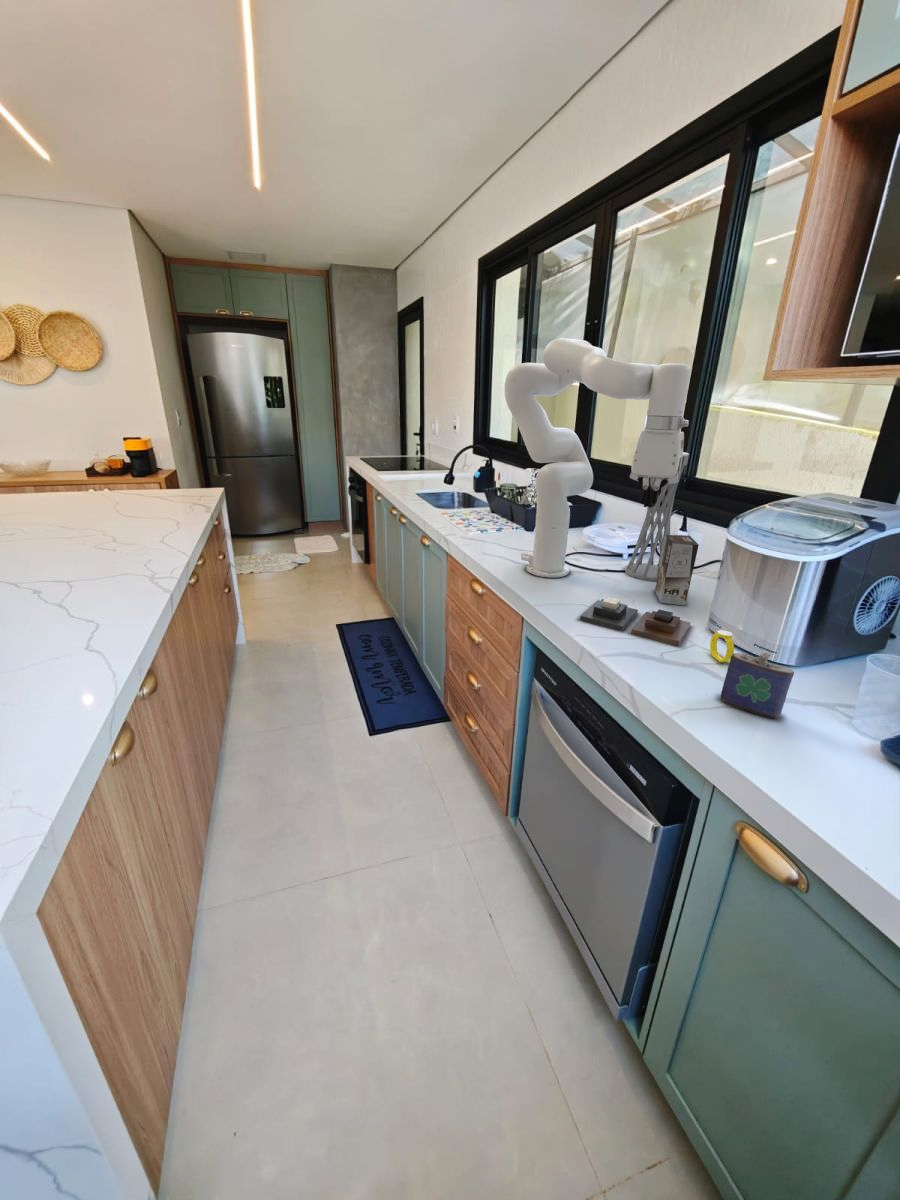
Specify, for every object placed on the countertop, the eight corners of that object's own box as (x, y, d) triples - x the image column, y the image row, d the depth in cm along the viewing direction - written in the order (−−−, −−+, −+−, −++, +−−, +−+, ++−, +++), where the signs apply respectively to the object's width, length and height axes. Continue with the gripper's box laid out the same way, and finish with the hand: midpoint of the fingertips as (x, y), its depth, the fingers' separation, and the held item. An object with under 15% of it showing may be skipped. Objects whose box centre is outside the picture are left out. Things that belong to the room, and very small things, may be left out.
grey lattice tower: (675, 571, 153) (699, 452, 140) (668, 584, 143) (694, 456, 129) (629, 563, 160) (648, 448, 146) (619, 575, 149) (639, 452, 135)
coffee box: (686, 605, 128) (699, 544, 122) (659, 603, 129) (671, 542, 123) (678, 592, 137) (691, 535, 130) (653, 590, 138) (664, 533, 131)
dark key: (653, 620, 113) (655, 613, 113) (657, 616, 116) (658, 609, 115) (668, 624, 112) (670, 617, 111) (672, 619, 114) (673, 612, 113)
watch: (733, 666, 100) (741, 639, 98) (720, 666, 100) (727, 640, 97) (717, 652, 105) (723, 626, 103) (704, 652, 105) (710, 626, 103)
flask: (780, 714, 85) (798, 658, 81) (778, 722, 83) (796, 665, 79) (721, 694, 90) (735, 641, 86) (717, 702, 88) (731, 647, 84)
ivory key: (601, 607, 119) (602, 601, 119) (606, 603, 122) (607, 596, 121) (615, 611, 118) (616, 604, 117) (619, 606, 120) (620, 600, 120)
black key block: (579, 620, 119) (581, 608, 118) (597, 604, 128) (598, 593, 127) (622, 631, 114) (624, 619, 112) (637, 614, 123) (639, 602, 122)
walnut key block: (631, 633, 113) (633, 621, 111) (645, 616, 122) (647, 604, 121) (678, 646, 107) (681, 633, 106) (689, 626, 117) (692, 615, 115)
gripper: (702, 425, 111) (685, 508, 118) (633, 422, 119) (622, 499, 126) (695, 427, 106) (678, 513, 113) (624, 423, 113) (612, 504, 120)
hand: (648, 506), depth 119 cm, fingers closed
